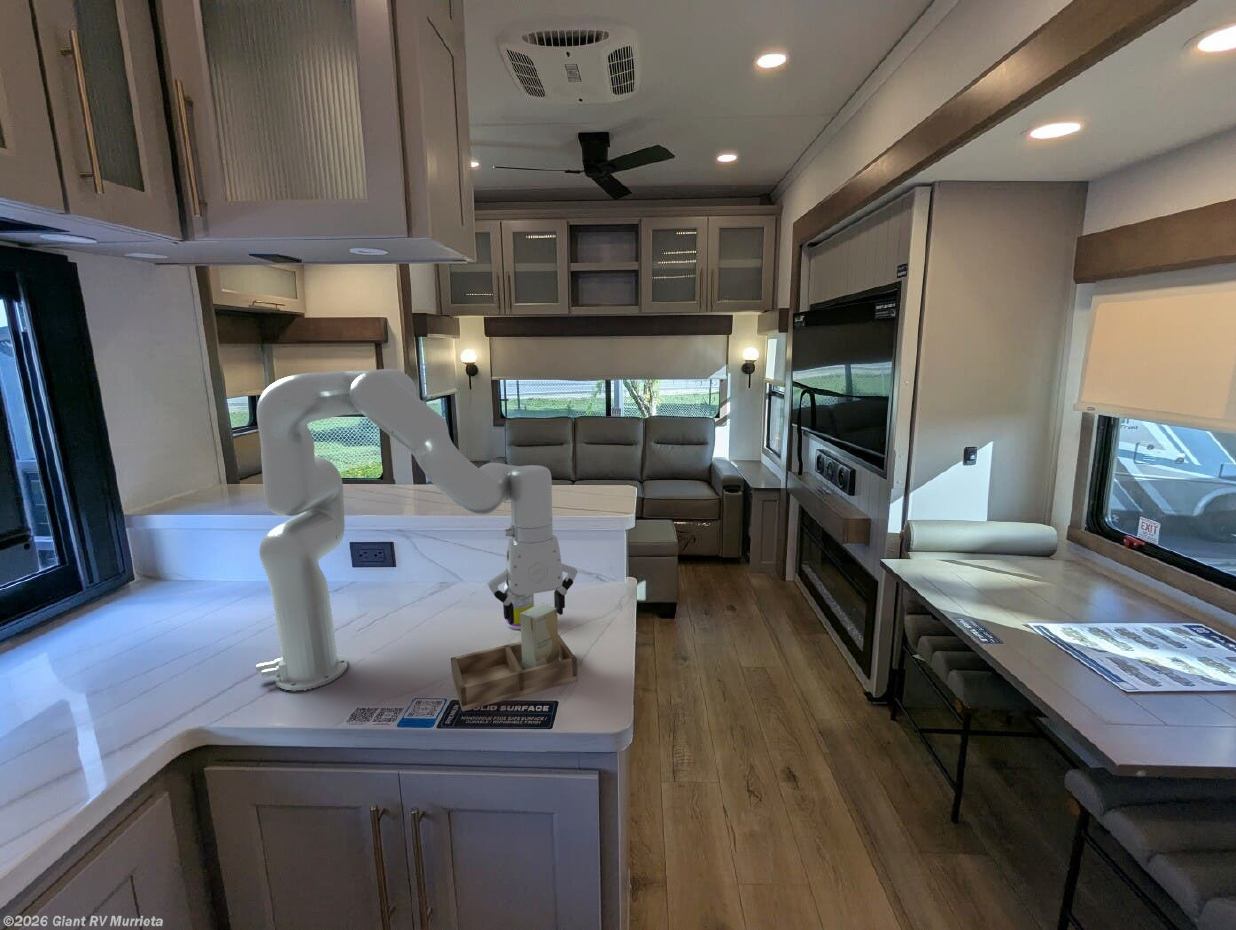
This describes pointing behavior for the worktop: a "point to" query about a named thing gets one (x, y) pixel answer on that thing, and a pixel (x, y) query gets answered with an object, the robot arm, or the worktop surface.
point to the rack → (507, 674)
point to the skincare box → (539, 636)
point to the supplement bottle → (520, 608)
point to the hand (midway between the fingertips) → (534, 616)
